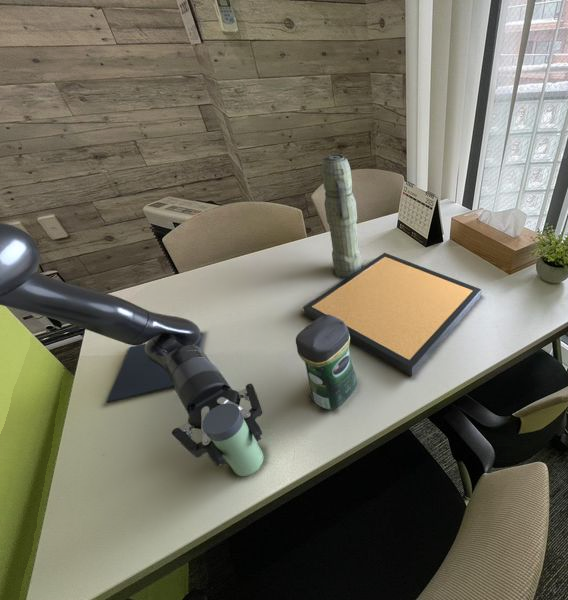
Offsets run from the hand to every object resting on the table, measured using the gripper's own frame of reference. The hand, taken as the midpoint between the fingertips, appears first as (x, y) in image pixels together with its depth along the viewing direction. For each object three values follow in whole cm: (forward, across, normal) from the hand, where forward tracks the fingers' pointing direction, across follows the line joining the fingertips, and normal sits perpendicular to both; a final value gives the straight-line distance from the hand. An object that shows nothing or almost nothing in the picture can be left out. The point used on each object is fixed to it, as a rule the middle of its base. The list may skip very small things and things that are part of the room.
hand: (241, 449), depth 51 cm
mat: (-38, -4, +8) cm, 39 cm away
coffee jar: (-4, +20, +8) cm, 22 cm away
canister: (-3, 0, +8) cm, 8 cm away
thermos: (-39, +50, +8) cm, 64 cm away
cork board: (-15, +49, +8) cm, 52 cm away
